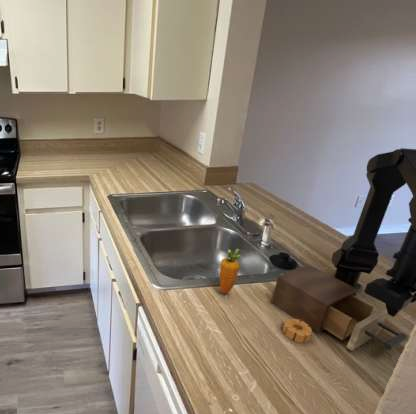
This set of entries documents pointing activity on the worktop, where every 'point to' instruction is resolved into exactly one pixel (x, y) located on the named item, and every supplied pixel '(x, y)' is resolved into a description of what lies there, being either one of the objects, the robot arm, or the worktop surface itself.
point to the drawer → (358, 323)
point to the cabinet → (309, 294)
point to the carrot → (229, 271)
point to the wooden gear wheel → (297, 330)
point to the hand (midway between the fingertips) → (391, 315)
